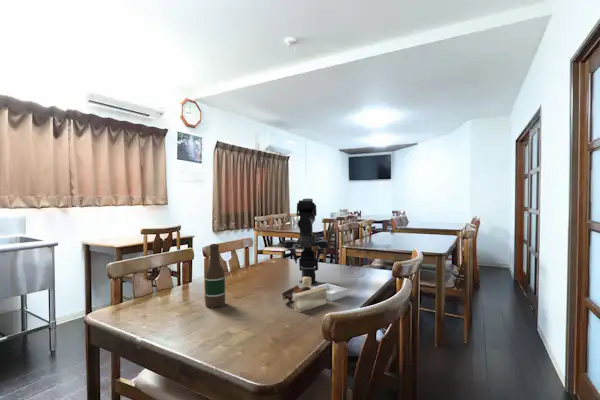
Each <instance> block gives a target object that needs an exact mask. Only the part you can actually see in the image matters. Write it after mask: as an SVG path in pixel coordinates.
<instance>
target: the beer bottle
mask: <svg viewBox="0 0 600 400" xmlns="http://www.w3.org/2000/svg"><path fill="white" fill-rule="evenodd" d="M219 247H220V245H219V244H218V243H211V244H209V249H210V250H209V264H208V266H207V268H206V270H205V271H204V272H205V273H204V303H205V307H207V306H208V307H207V308H209V307H218V308H220V307H219V306H221V307H223V306H224V305H225V303H226V276H225V274H226V273H225V269H224V267H223V266H222V265H221V261H220V260H221V259H220V251H219V250H220V249H219Z"/></svg>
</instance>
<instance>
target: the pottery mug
mask: <svg viewBox="0 0 600 400" xmlns="http://www.w3.org/2000/svg"><path fill="white" fill-rule="evenodd" d="M305 290H307V291H308V290H311V289H310V288H309V287H304V288H302V287H300V286H299V285H298V284H297V285H295V286H292V287H290V288H289V289H287V290H285V291H284V292H282V293H281V295H282V301H283V300H284V301H286V300H287V301H289V302H292V301H293V298H294V294H297V293H300V292H304V291H305ZM293 293H294V294H293Z"/></svg>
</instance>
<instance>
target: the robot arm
mask: <svg viewBox="0 0 600 400" xmlns="http://www.w3.org/2000/svg"><path fill="white" fill-rule="evenodd" d="M296 217H299V220H298V221H297V226H298V228H299V237H298V241H295V239H287V240H286V241H285V243H284V249H287V250H288V251H290V253H291V255H292V256H293V259H294V262H295V264H298V265H299V267H298V268H299V271H300V272H301V280H299V283H301V284H302V278H303V277H311V285H313V284H316V283H318V280H316V271H318V270H319V259H320V255H321V253H322V251H324V250H325V249H328V240H327V239H319V240H318V241H317V240H316V235H313V233H314V232H313V230H314V229H313V224H314V222H315V221H316V217H317V205H316V203H315V202H314V200H313V198H302V199H301V200H298V202H297V203H296ZM296 247H299V248H302V249H303V250H302V251H301V252H300V257H299V259H298V257H297V248H296ZM313 247H317V253H316V254H315V252H314V250H313ZM298 260H299V261H298Z"/></svg>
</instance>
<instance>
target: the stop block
mask: <svg viewBox="0 0 600 400" xmlns="http://www.w3.org/2000/svg"><path fill="white" fill-rule="evenodd" d="M293 304H294V305H293V306H294V309H293V310H294V311H295V312H297V313H302V312H306V311H308V310H311V309H314V308H318V307H320V306H323V305H327V300H326V288H324V287H318V288H315V289H311V290H308V291H304V292H300V293H297V294H295V293H294V294H293Z"/></svg>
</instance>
